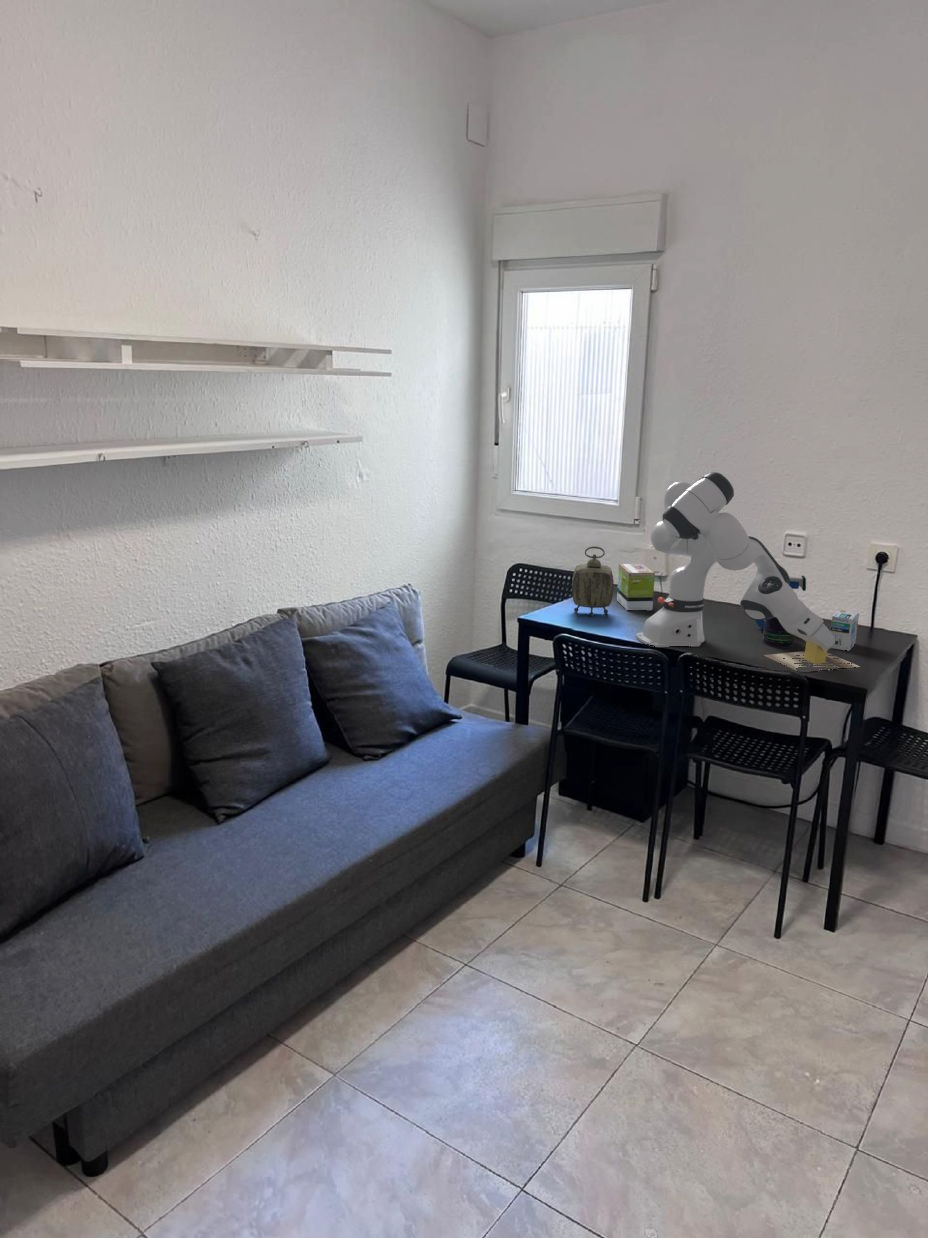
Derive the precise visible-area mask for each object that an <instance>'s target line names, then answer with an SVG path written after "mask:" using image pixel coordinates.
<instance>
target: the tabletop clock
mask: <svg viewBox="0 0 928 1238" xmlns="http://www.w3.org/2000/svg"><path fill="white" fill-rule="evenodd" d="M591 549H592V550H593V549H597V550H601V551H602V552H603V554H601V555H599V556H597V554H595V553H594V554H593V555H588V554H587V552H588V550H591ZM584 554H585V556H586V557H587V558H589V560H588V561H587V563H583V564H579V565H576V566H575V568H574V570H573V575H572V581H571V582H572V583H571V587H572V588H571V590H572V599H573V600H572V601H573V603H574V605H575V606H577V607H574V609H573V612H574V613H578V612H579V608H580V607H582V608H588V609H589V608H590V612H589V613H588V615H589V617H591V616H592V617H594V615H595V614H594V612H593V610H594V609H597V608H598V609H599V608H601V609H602V608H603V614H608V613H609V610H608V609H606V607H609V606H610V605H611V603H612V600H613V597H614V596H613V595H614V589H615V588H614V585H615V584H614V583H615V581H614V575H613V574H614V573H613V571H612V568H611V567H610V566H608V565H605V564H602V563H601V561H600V560H599V559H600V558H603V557H604V556H605V554H606V553H605V550H604V549H603V548H602V547H600V546H589V547H587V548H586V549H585V551H584Z"/></svg>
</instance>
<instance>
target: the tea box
mask: <svg viewBox="0 0 928 1238" xmlns="http://www.w3.org/2000/svg"><path fill="white" fill-rule="evenodd" d="M655 573H656V572H654V571H653V570H652V569H650V567H648V566H647V565H645V564H644V563H619V564H618V573H617V593H616V600H617V602H619V604H620V605H621V606H622V607H623V608H624V609H625V610H626V611H627V610H647V611H653V605H654V590H655V577H656V574H655Z"/></svg>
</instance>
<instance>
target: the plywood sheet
mask: <svg viewBox="0 0 928 1238" xmlns="http://www.w3.org/2000/svg"><path fill="white" fill-rule="evenodd" d="M804 653H805V650H803V651H794V652H793V651H792V652H784V653H783V652H781V653H772V654H763V656H764V657H766V658H767V659H770V660H772V661H774V662H776V663H779V664H780V663H781V665H783V666H784V665H785V667H787V668H789V669H791V670H793V671H795V672H797V670H796V668H798V667H807V666H801V665H803V664H794V663H802V662H808V663H809V661H802V660H805V659H802V658H804V656H803V655H804ZM796 655H800V656H796ZM828 655H833V654H832V653H830V652H827V654H826V658H830V659H826V660H825V663H842V664H818V665H827V666H813V667H826V668H827V667H831V668H833V667H834V668H835V667H837V668H841V667H842V668H843V667H844V668H847V669H854V667H856V668H861V666H859V665H858V664H855V663H853V662H851V661H848V660H846V659H843V658H842V657H839V656H836V655H834V656H828ZM783 658H785V659H783ZM792 658H801V659H792ZM833 658H839V659H833ZM799 660H800V661H799ZM810 663H811V662H810ZM844 663H845V664H844ZM847 663H850V664H847ZM851 663H852V664H851ZM786 665H787V666H786ZM799 665H800V666H799ZM809 665H810V664H809ZM813 665H817V664H813ZM828 665H834V666H828ZM835 665H837V666H835ZM838 665H840V666H838ZM843 665H844V666H843ZM846 665H847V666H846ZM851 665H852V666H851ZM808 667H809V666H808ZM819 670H820V669H819ZM821 670H822V669H821ZM828 671H834V670H833V669H832V670H830V669H828Z"/></svg>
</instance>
